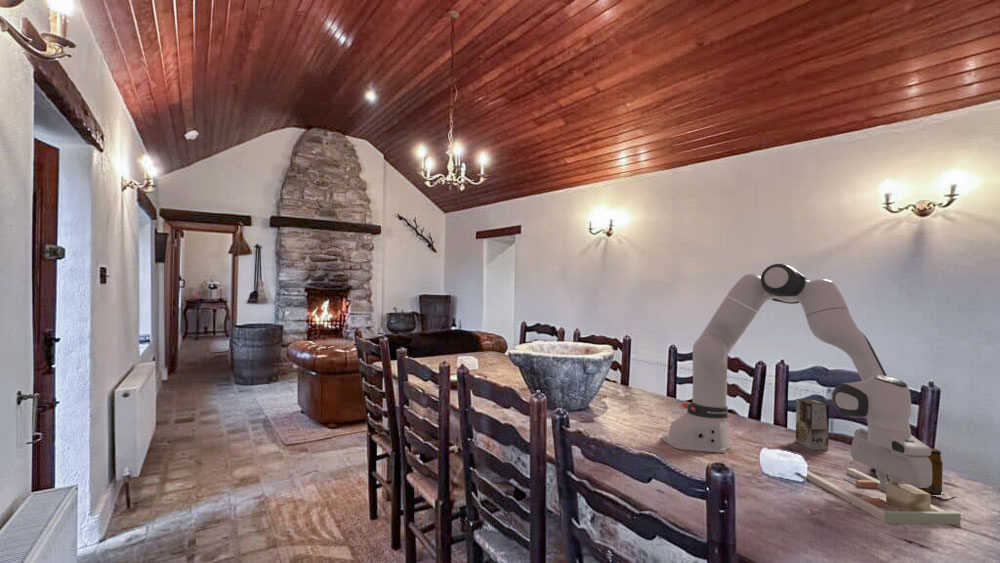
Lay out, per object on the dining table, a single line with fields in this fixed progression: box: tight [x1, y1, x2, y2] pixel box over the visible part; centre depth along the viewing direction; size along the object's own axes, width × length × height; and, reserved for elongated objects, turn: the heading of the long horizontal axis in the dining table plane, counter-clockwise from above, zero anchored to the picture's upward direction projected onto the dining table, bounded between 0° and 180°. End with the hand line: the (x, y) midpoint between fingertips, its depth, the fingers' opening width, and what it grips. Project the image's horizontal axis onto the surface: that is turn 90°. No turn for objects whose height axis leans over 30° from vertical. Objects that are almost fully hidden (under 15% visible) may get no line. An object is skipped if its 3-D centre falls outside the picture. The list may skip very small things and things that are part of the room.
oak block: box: [885, 483, 932, 512], centre depth 117 cm, size 6×6×5 cm
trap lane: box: [805, 467, 962, 525], centre depth 124 cm, size 18×30×2 cm, turn 4°
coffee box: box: [795, 398, 830, 451], centre depth 165 cm, size 9×6×16 cm
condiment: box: [914, 446, 946, 501], centre depth 127 cm, size 7×8×12 cm
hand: (887, 490), depth 121 cm, fingers closed
